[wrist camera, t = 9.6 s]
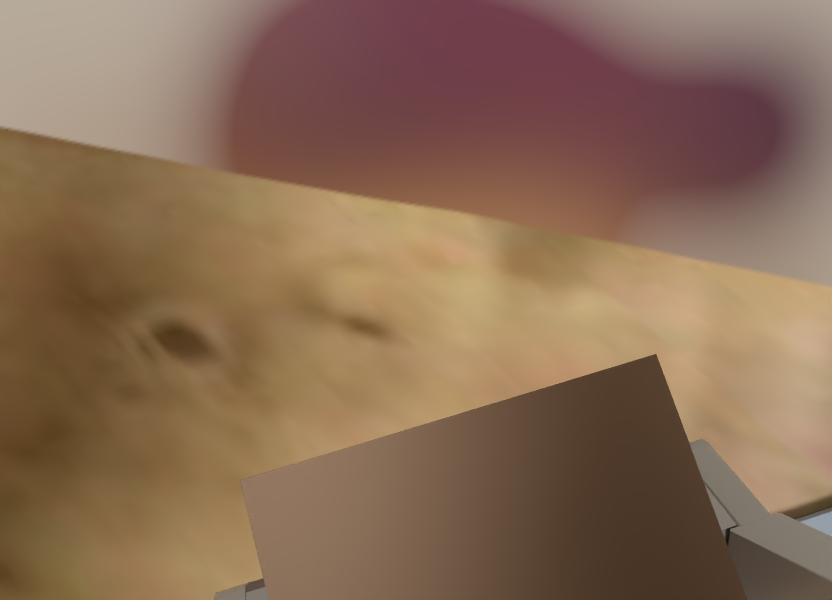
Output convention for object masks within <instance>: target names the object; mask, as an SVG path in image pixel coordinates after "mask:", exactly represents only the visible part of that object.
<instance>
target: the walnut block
mask: <svg viewBox="0 0 832 600" xmlns="http://www.w3.org/2000/svg"><path fill="white" fill-rule="evenodd" d="M240 482H241V486H242V490H243V494H244V499H245V503H246V507H247V511H248V516H249V520H250V524H251V528H252V532H253V537H254V541H255V545H256V549H257V553H258V558H259V562H260V566H261V570H262V574H263V579H264V583H265V587H266V591H267V595H268V600H747V597H746V595H745V592H744V589H743V587H742V584H741V581H740V579H739V576H738V573H737V570H736V568H735V565H734V562H733V560H732V557H731V554H730V552H729V549H728V546H727V544H726V541H725V538H724V535H723V533H722V530H721V527H720V525H719V522H718V519H717V517H716V514H715V511H714V509H713V506H712V503H711V501H710V498H709V495H708V492H707V490H706V487H705V484H704V482H703V479H702V476H701V474H700V471H699V468H698V466H697V463H696V460H695V457H694V455H693V452H692V449H691V447H690V444H689V441H688V439H687V436H686V433H685V431H684V428H683V425H682V422H681V420H680V417H679V414H678V412H677V409H676V406H675V404H674V401H673V398H672V396H671V393H670V390H669V387H668V385H667V382H666V379H665V377H664V374H663V371H662V369H661V366H660V363H659V361H658V358H657V355H656V354H655V355H651V356H648V357H645V358H641V359H638V360H635V361H632V362H628V363H625V364H622V365H618V366H615V367H612V368H609V369H605V370H602V371H599V372H595V373H592V374H589V375H585V376H582V377H579V378H576V379H572V380H569V381H566V382H562V383H559V384H556V385H553V386H549V387H546V388H543V389H539V390H536V391H533V392H529V393H526V394H523V395H520V396H516V397H513V398H510V399H506V400H503V401H500V402H497V403H493V404H490V405H487V406H483V407H480V408H477V409H473V410H470V411H467V412H464V413H460V414H457V415H454V416H450V417H447V418H444V419H441V420H437V421H434V422H431V423H427V424H424V425H421V426H417V427H414V428H411V429H408V430H404V431H401V432H398V433H394V434H391V435H388V436H385V437H381V438H378V439H375V440H371V441H368V442H365V443H361V444H358V445H355V446H352V447H348V448H345V449H342V450H338V451H335V452H332V453H328V454H325V455H322V456H319V457H315V458H312V459H309V460H305V461H302V462H299V463H296V464H292V465H289V466H286V467H282V468H279V469H276V470H272V471H269V472H266V473H263V474H259V475H256V476H253V477H249V478H246V479H243V480H240Z"/></svg>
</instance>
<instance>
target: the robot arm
mask: <svg viewBox="0 0 832 600" xmlns="http://www.w3.org/2000/svg"><path fill="white" fill-rule="evenodd" d="M689 444H690V447H691V449H692V452H693V455H694V457H695V460H696V463H697V466H698V468H699V471H700V474H701V476H702V479H703V482H704V484H705V487H706V490H707V492H708V495H709V498H710V501H711V503H712V506H713V509H714V511H715V514H716V517H717V519H718V522H719V525H720V527H721V530H722V533H723V535H724V538H725V541H726V544H727V546H728V549H729V552H730V554H731V557H732V560H733V562H734V565H735V568H736V570H737V573H738V576H739V579H740V581H741V584H742V587H743V589H744V592H745V595H746V597H747V600H832V536H830V535H827V534H825V533H823V532H821V531H819V530H817V529H814V528H812V527H810V526H808V525H806V524H803V523H801V522H799V521H797V520H795V519H793V518H790V517H788V516H786V515H784V514H782V513H777V514H774V515H771V514H770V513H769V512H768V511H767V510H766V509H765V507H764V506H763V505H762V504H761V503H760V502H759V500H758V499H757V498H756V497H755V496H754V495H753V493H752V492H751V491H750V490H749V489H748V488H747V486H746V485H745V484H744V483H743V482H742V481H741V479H740V478H739V477H738V476H737V475H736V474H735V473H734V471H733V470H732V469H731V468H730V467H729V466H728V464H727V463H726V462H725V461H724V460H723V459H722V457H721V456H720V455H719V454H718V453H717V452H716V450H715V449H714V448H713V447H712V446H711V445H710V443H708V442H707V441H705V440H703V439H699V440H696V441H693V442H690V443H689ZM214 600H268V595H267V591H266V587H265V583H264V579H260V580H256V581H253V582H250V583H246V584H243V585H239V586H236V587H233V588H230V589H227V590H223V591H220V592H217V593H216V594H215V597H214Z"/></svg>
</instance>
